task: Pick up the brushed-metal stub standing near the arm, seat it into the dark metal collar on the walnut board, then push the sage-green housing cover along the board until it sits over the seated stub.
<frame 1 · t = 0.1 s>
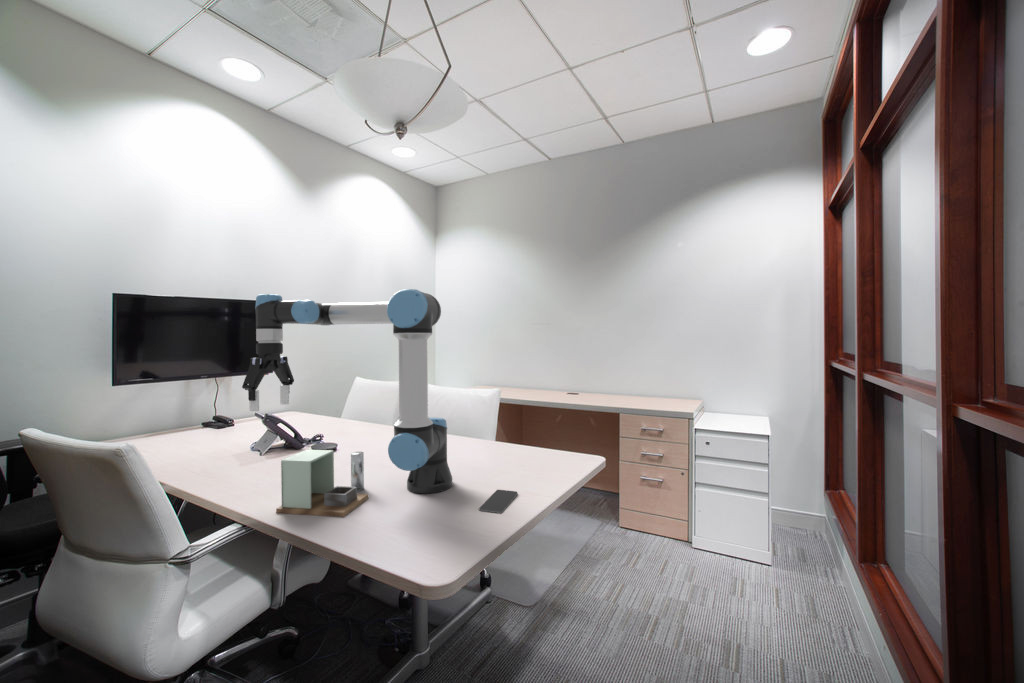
hand: (270, 407, 135), 28 cm above the table, fingers open, 13 cm apart
mug: (303, 485, 144), on the table
smartphone: (499, 503, 127), on the table
cover: (308, 477, 126), point 8 cm above the table, slide at 0.0 cm
stub: (357, 489, 139), on the table
board: (324, 505, 125), on the table
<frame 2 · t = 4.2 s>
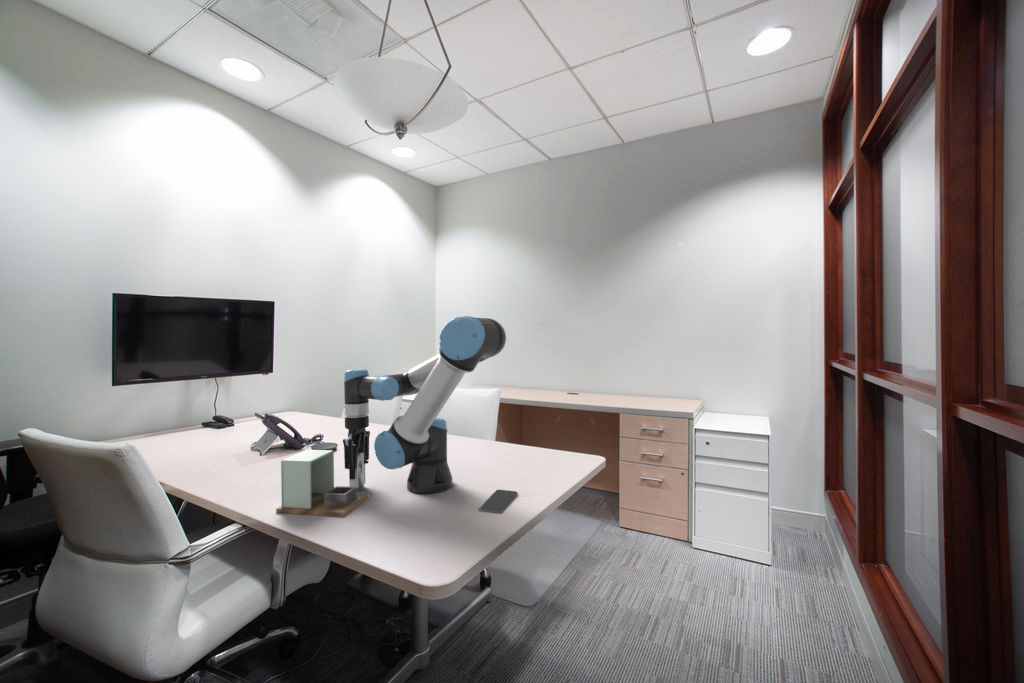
hand: (357, 485, 139), 1 cm above the table, fingers closed on stub, 4 cm apart
stub: (357, 489, 139), on the table, touching gripper
everything else where it was.
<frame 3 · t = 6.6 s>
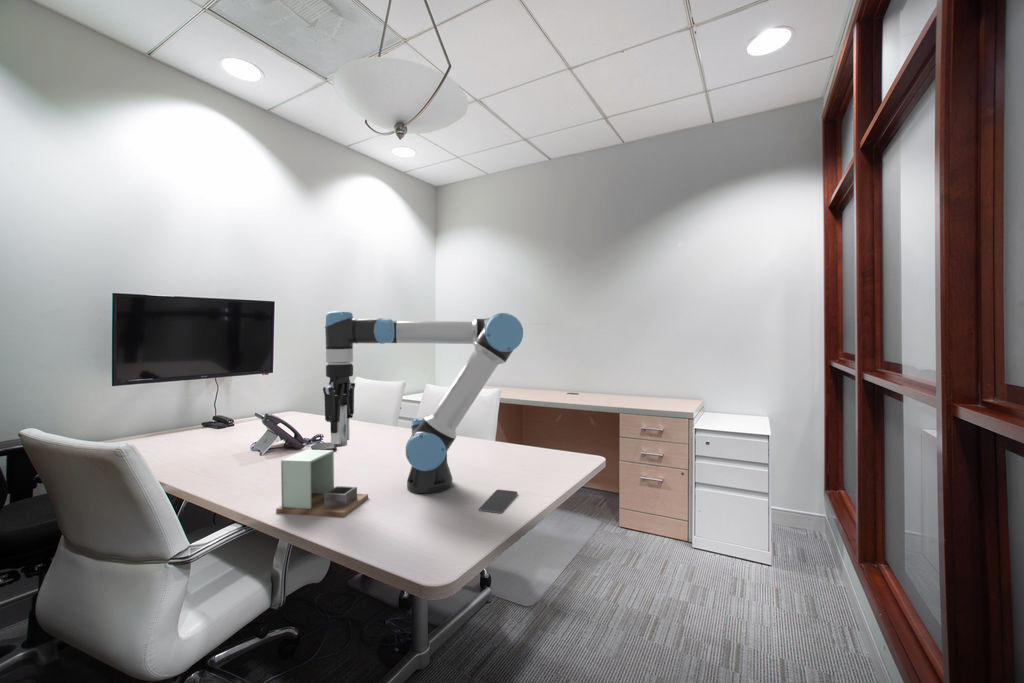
hand: (340, 441, 125), 19 cm above the table, fingers closed on stub, 4 cm apart
stub: (340, 445, 125), point 18 cm above the table, touching gripper
everything else where it was.
when the fingers open (6 cm above the table, at t = 9.2 s): stub drops 3 cm, resting on board.
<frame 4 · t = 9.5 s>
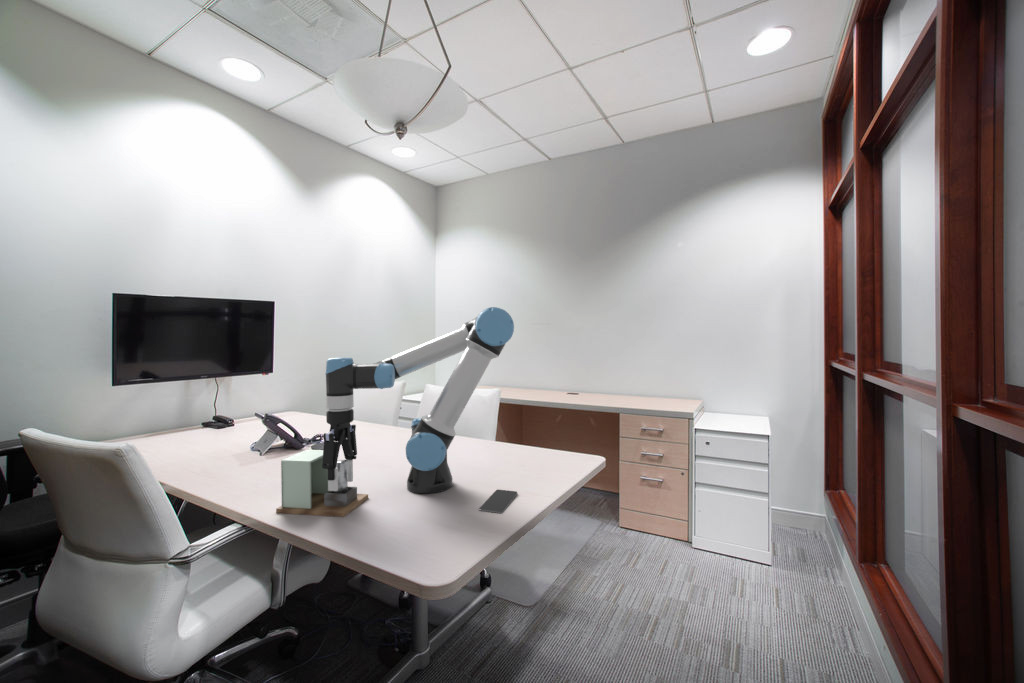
hand: (340, 485, 125), 6 cm above the table, fingers open, 7 cm apart
stub: (340, 502, 124), point 1 cm above the table, touching board
everything else where it was.
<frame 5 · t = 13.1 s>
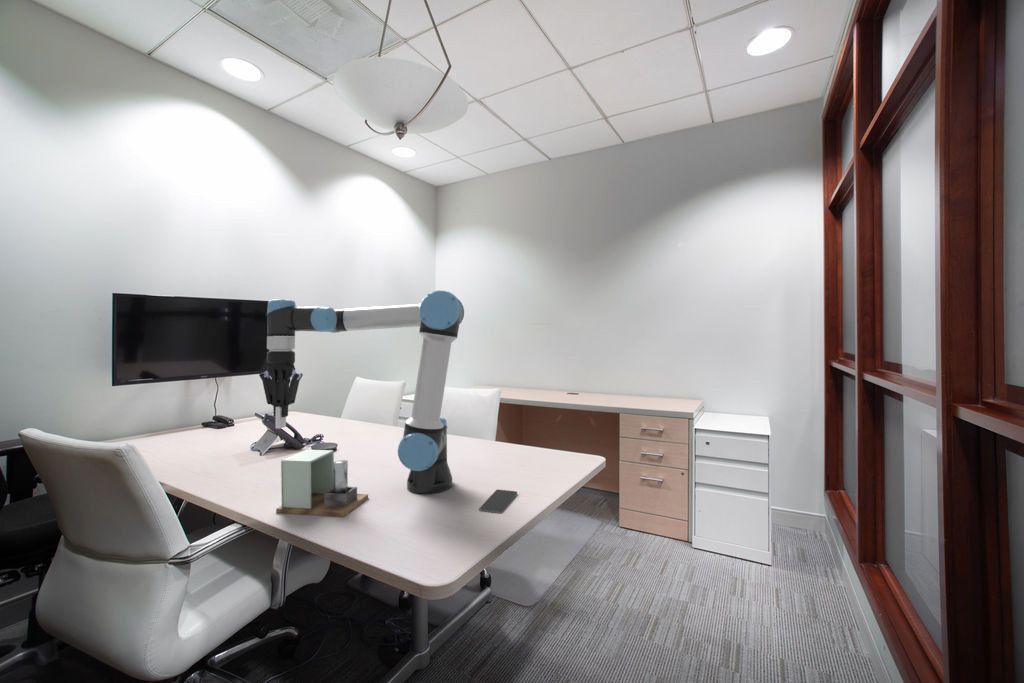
hand: (280, 427, 127), 23 cm above the table, fingers closed
nothing on the table moved.
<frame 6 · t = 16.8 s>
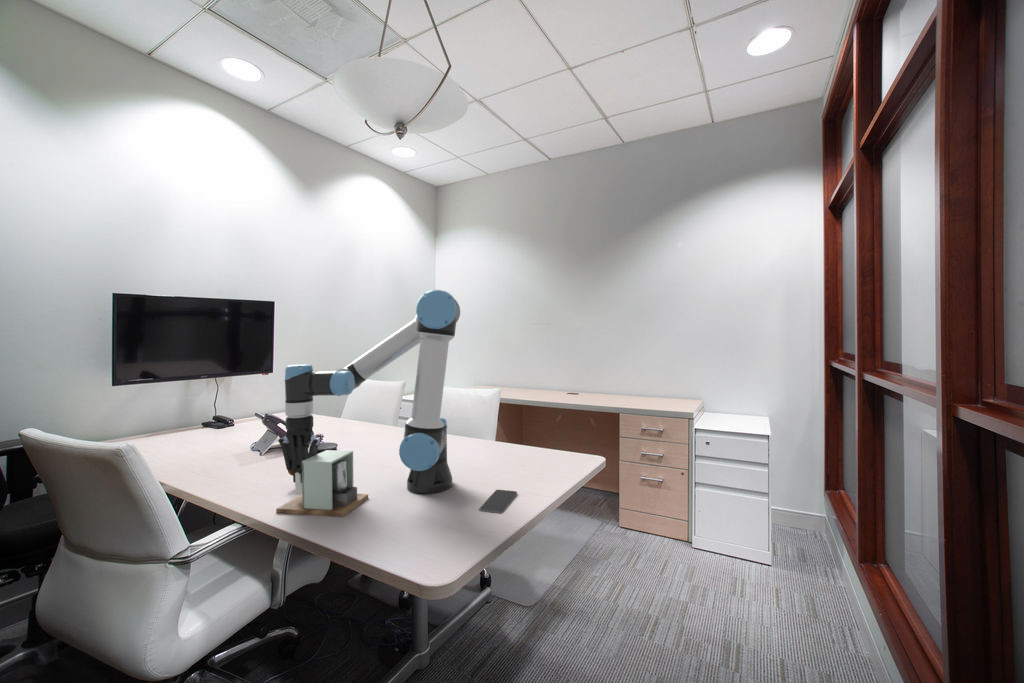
hand: (300, 493, 127), 3 cm above the table, fingers closed
cover: (328, 478, 125), point 8 cm above the table, slide at 6.6 cm, touching hand
everything else where it was.
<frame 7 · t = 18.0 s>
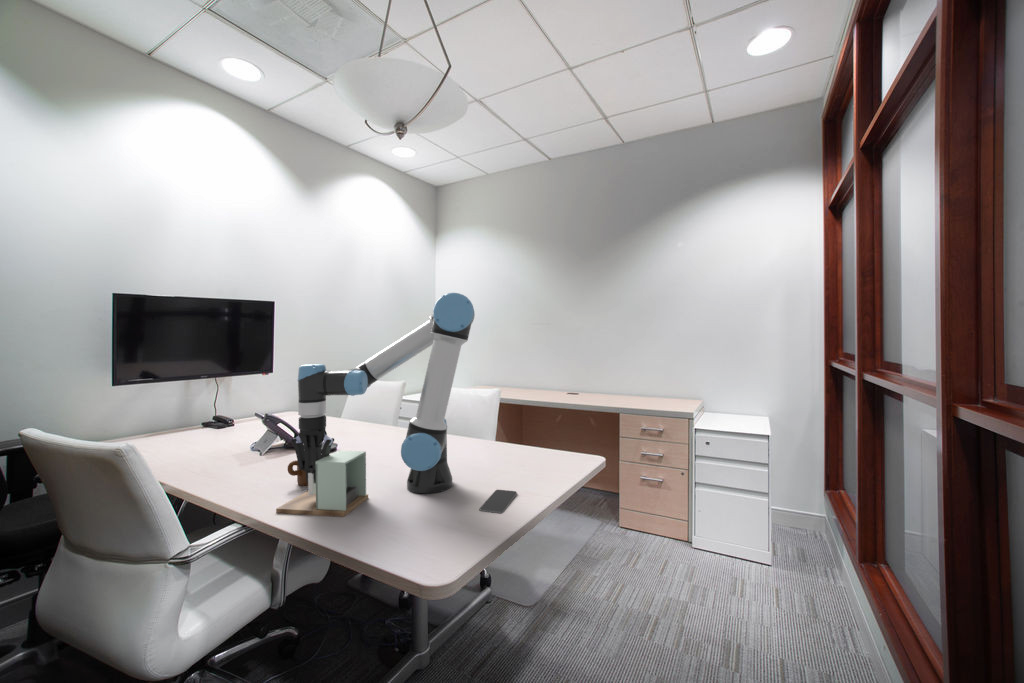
hand: (313, 493, 126), 3 cm above the table, fingers closed
cover: (341, 479, 125), point 8 cm above the table, slide at 10.9 cm, touching hand
everything else where it was.
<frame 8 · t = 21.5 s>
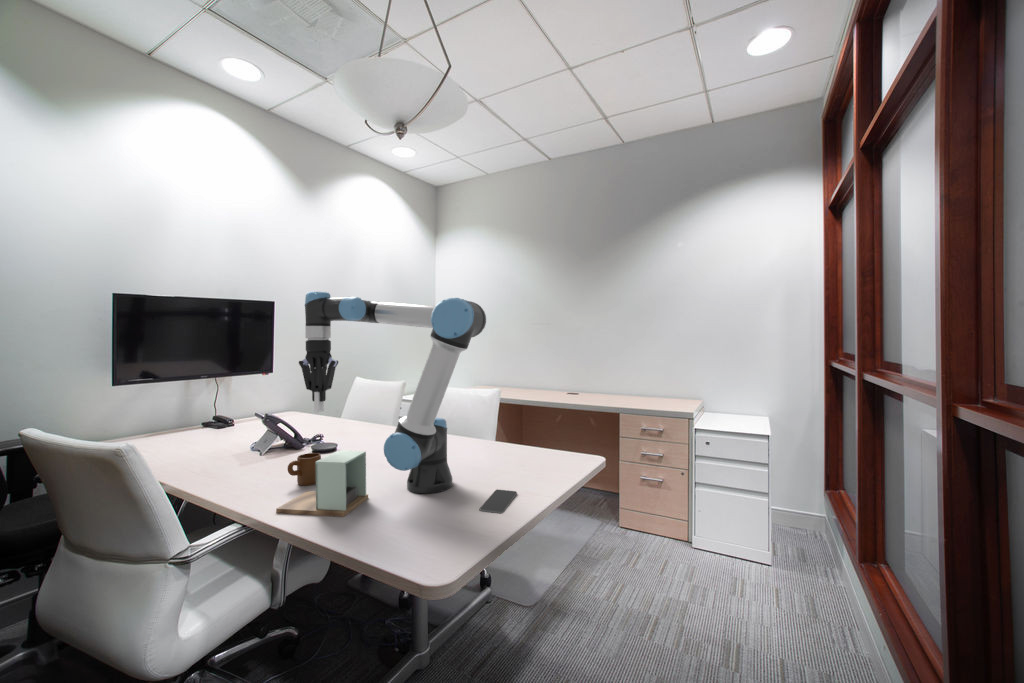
hand: (319, 411, 136), 26 cm above the table, fingers closed
cover: (341, 479, 125), point 8 cm above the table, slide at 10.9 cm
everything else where it was.
at the end: stub 0.2 cm from the target spot on the board, point 1.3 cm above the board's base; stub tilted 3°; cover slide at 10.9 cm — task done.
